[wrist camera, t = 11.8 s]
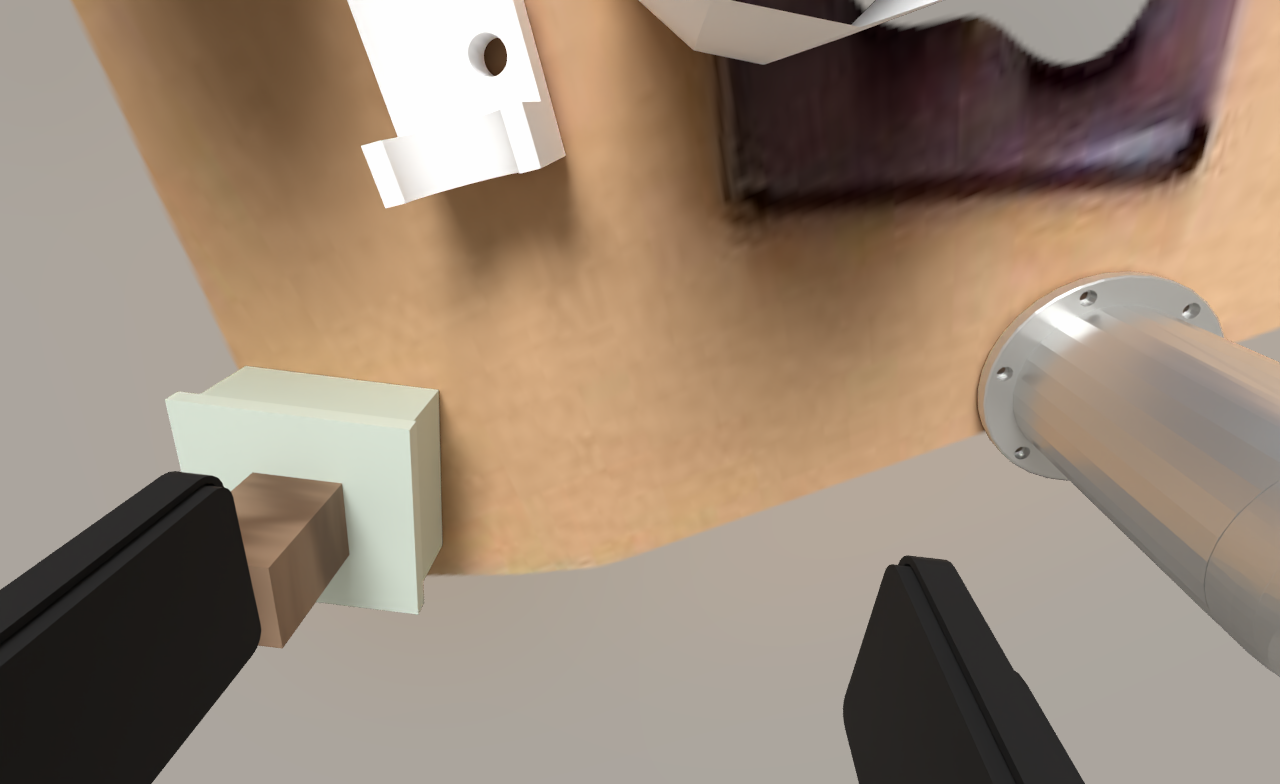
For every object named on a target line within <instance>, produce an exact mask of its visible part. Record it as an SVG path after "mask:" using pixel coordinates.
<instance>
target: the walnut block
mask: <svg viewBox="0 0 1280 784" xmlns="http://www.w3.org/2000/svg"><path fill="white" fill-rule="evenodd" d="M231 493H232V495H233V498H234V503H235V507H236V512H237V517H238V521H239V526H240V531H241V535H242V540H243V545H244V549H245V554H246V558H247V563H248V568H249V572H250V577H251V582H252V586H253V591H254V596H255V600H256V605H257V609H258V614H259V619H260V623H261V637H260V641H259V644H258V645H259V646H268V647H275V648H283V647H284V646H285V644H286V643H287V641H288V640H289V639H290V637H291V636H292V634H293V633H294V632H295V630H296V629H297V627H298V626H299V625H300V623H301V622H302V620H303V619H304V618H305V616H306V615H307V613H308V612H309V611H310V609H311V608H312V606H313V605H314V604H315V602H316V601H317V599H318V598H319V597H320V595H321V594H322V593H323V591H324V590H325V588H326V587H327V586H328V584H329V583H330V581H331V580H332V579H333V577H334V576H335V574H336V573H337V572H338V570H339V569H340V567H341V566H342V565H343V563H344V562H345V560H346V559H347V558H348V556H349V555H350V554H349V545H348V535H347V526H346V516H345V507H344V497H343V488H342V483H335V482H327V481H319V480H311V479H302V478H294V477H286V476H278V475H270V474H262V473H254V472H252V473H251V474H250V475H249V476H248V477H247V478H246V479H244V480H243V481H242V482H241V483H240V484H239V485H238V486H236V487H235V488H234V489H233V490H232V491H231Z"/></svg>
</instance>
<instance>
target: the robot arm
mask: <svg viewBox="0 0 1280 784" xmlns="http://www.w3.org/2000/svg"><path fill="white" fill-rule="evenodd" d="M999 369H1000V370H999ZM978 410H979V414H980V418H981V423H982V426H983V427H984V429H985V431H986V433H987V435H988V437H989V439H990V440H991V441H992V442H993V444H995V446H996V447H997V448H998V449H999V451H1000V452H1001V453H1002V454H1003V455H1004V456H1005V457H1006V458H1008V459H1009V460H1010V461H1011V462H1012V463H1014V464H1015V465H1017V466H1019V467H1021V468H1023V469H1025V470H1026V471H1028V472H1030V473H1033V474H1036V475H1039V476H1043V477H1046V478H1051V479H1059V480H1070V481H1071V482H1072V483H1073V484H1074V485H1075V486H1076V487H1077V488H1078V489H1079V490H1080V491H1081V492H1082V493H1083V494H1084V495H1085V496H1086V497H1087V498H1088V499H1089V500H1090V501H1091V502H1092V503H1093V504H1094V505H1096V506H1097V507H1098V508H1099V509H1100V510H1101V511H1102V512H1103V513H1104V514H1105V515H1106V516H1107V517H1108V518H1109V519H1110V520H1111V521H1112V522H1113V523H1114V524H1115V525H1116V526H1117V527H1118V528H1119V529H1120V530H1121V531H1122V532H1123V533H1124V534H1125V535H1127V537H1129V539H1130V540H1132V541H1133V542H1134V543H1135V544H1136V545H1137V546H1138V547H1139V548H1140V549H1141V550H1142V551H1143V552H1144V553H1145V554H1146V555H1147V556H1148V557H1149V558H1150V559H1151V560H1152V561H1153V562H1154V563H1155V564H1156V565H1157V566H1158V567H1159V568H1160V569H1161V570H1162V571H1163V572H1165V574H1167V575H1168V576H1169V577H1170V578H1171V579H1172V580H1173V581H1174V582H1175V583H1176V584H1177V585H1178V586H1179V587H1180V588H1181V589H1182V590H1183V591H1184V592H1185V593H1186V594H1187V595H1188V596H1189V597H1190V598H1191V599H1192V600H1193V601H1194V602H1195V603H1196V604H1197V605H1198V606H1199V607H1201V608H1202V609H1203V610H1204V611H1205V612H1206V613H1207V614H1208V615H1209V616H1210V617H1211V618H1212V619H1213V620H1214V621H1215V622H1216V623H1218V624H1219V625H1220V626H1221V627H1222V628H1223V629H1224V630H1225V631H1226V632H1227V633H1228V634H1229V635H1230V636H1231V637H1232V638H1233V639H1234V640H1235V641H1237V643H1238V644H1240V646H1242V647H1243V648H1244V649H1245V650H1246V651H1247V652H1248V653H1249V654H1250V655H1252V656H1253V657H1254V658H1255V659H1256V660H1257V661H1259V662H1260V663H1261V664H1262V665H1264V666H1265V667H1266V668H1267V669H1269V670H1270V671H1272V672H1273V673H1275V674H1276V675H1278V676H1279V677H1280V363H1279V362H1277V361H1275V360H1272V359H1270V358H1268V357H1266V356H1264V355H1261V354H1259V353H1257V352H1254V351H1252V350H1250V349H1247V348H1245V347H1243V346H1241V345H1238V344H1236V343H1234V342H1232V341H1229V340H1227V339H1225V338H1224V334H1223V331H1222V328H1221V325H1220V322H1219V319H1218V317H1217V316H1216V314H1215V313H1214V311H1213V310H1212V309H1211V307H1210V306H1209V304H1208V303H1207V302H1206V301H1205V300H1204V299H1203V298H1201V297H1200V296H1199V295H1198V294H1197V293H1195V292H1194V291H1193V290H1192V289H1189V288H1187V287H1185V286H1183V285H1181V284H1179V283H1177V282H1175V281H1172V280H1169V279H1166V278H1163V277H1160V276H1157V275H1154V274H1148V273H1140V272H1132V271H1125V272H1109V273H1103V274H1098V275H1094V276H1090V277H1085V278H1082V279H1079V280H1077V281H1074V282H1072V283H1069V284H1067V285H1064V286H1062V287H1059V288H1057V289H1056V290H1054V291H1052V292H1051V293H1049V294H1047V295H1045V296H1044V297H1042V298H1040V299H1039V300H1037V301H1036V302H1035V303H1033V304H1032V305H1031V306H1030V307H1028V308H1027V309H1026V310H1025V311H1023V312H1022V313H1021V314H1020V315H1018V316H1017V317H1016V319H1015V320H1014V321H1013V322H1012V323H1011V324H1010V325H1009V326H1008V327H1007V328H1006V330H1005V331H1004V332H1003V333H1002V334H1001V336H1000V337H999V339H998V340H997V342H996V343H995V345H994V346H993V348H992V349H991V351H990V353H989V355H988V358H987V360H986V362H985V365H984V367H983V369H982V372H981V377H980V382H979V387H978ZM260 637H261V623H260V619H259V614H258V609H257V605H256V600H255V596H254V591H253V586H252V582H251V577H250V572H249V568H248V563H247V558H246V554H245V549H244V545H243V540H242V535H241V531H240V526H239V521H238V517H237V512H236V507H235V503H234V498H233V495H232V493H231V491H230V490H229V489H228V488H225V487H224V486H223V483H222V482H221V480H220V479H219V478H218V477H215V476H212V475H203V474H195V473H186V472H176V471H174V472H168V473H166V474H164V475H162V476H160V477H159V478H158V479H156V480H155V481H154V482H152V483H150V484H149V485H148V486H146V487H145V488H144V489H142V490H141V491H139V492H138V493H137V494H135V495H134V496H132V497H131V498H129V499H128V500H127V501H125V502H124V503H122V504H121V505H120V506H118V507H117V508H115V509H114V510H112V511H111V512H110V513H108V514H107V515H105V516H104V517H103V518H101V519H100V520H98V521H97V522H96V523H94V524H93V525H91V526H90V527H89V528H87V529H86V530H84V531H83V532H81V533H80V534H79V535H77V536H76V537H75V538H73V539H72V540H70V541H69V542H67V543H66V544H64V545H63V546H62V547H60V548H59V549H57V550H56V551H55V552H53V553H52V554H50V555H49V556H48V557H46V558H45V559H43V560H42V561H41V562H39V563H38V564H37V565H35V566H34V567H32V568H31V569H29V570H28V571H27V572H25V573H24V574H22V575H21V576H20V577H18V578H17V579H15V580H14V581H12V582H11V583H10V584H8V585H7V586H5V587H4V588H2V589H1V590H0V784H151V783H152V782H153V781H154V780H155V778H156V777H157V776H158V774H159V773H160V772H161V771H162V769H163V768H164V767H165V766H166V764H167V763H168V762H169V760H170V759H171V758H172V757H173V755H174V754H175V753H176V752H177V750H178V749H179V748H180V746H181V745H182V744H183V743H184V741H185V740H186V739H187V738H188V736H189V735H190V734H191V733H192V731H193V730H194V729H195V727H196V726H197V725H198V724H199V722H200V721H201V720H202V719H203V717H204V716H205V715H206V713H207V712H208V711H209V710H210V708H211V707H212V706H213V705H214V703H215V702H216V701H217V700H218V698H219V697H220V696H221V694H222V693H223V692H224V691H225V689H226V688H227V687H228V686H229V684H230V683H231V682H232V680H233V679H234V678H235V677H236V675H237V674H238V673H239V672H240V670H241V669H242V668H243V666H244V665H245V664H246V663H247V661H248V660H249V659H250V658H251V656H252V655H253V653H254V652H255V650H256V648H257V646H258V644H259V641H260ZM843 717H844V725H845V730H846V734H847V738H848V741H849V746H850V749H851V753H852V757H853V761H854V765H855V769H856V773H857V777H858V781H859V784H1085V783H1084V781H1083V780H1082V778H1081V776H1080V775H1079V773H1078V771H1077V769H1076V768H1075V766H1074V764H1073V763H1072V761H1071V759H1070V758H1069V756H1068V754H1067V752H1066V751H1065V749H1064V747H1063V745H1062V744H1061V742H1060V740H1059V739H1058V737H1057V735H1056V733H1055V732H1054V730H1053V728H1052V727H1051V725H1050V723H1049V721H1048V720H1047V718H1046V716H1045V715H1044V713H1043V711H1042V709H1041V708H1040V706H1039V704H1038V703H1037V701H1036V699H1035V697H1034V696H1033V694H1032V692H1031V691H1030V689H1029V687H1028V685H1027V684H1026V683H1025V681H1024V680H1023V679H1022V677H1021V676H1020V675H1019V674H1018V673H1017V672H1016V671H1014V670H1013V668H1012V666H1011V664H1010V663H1009V661H1008V659H1007V658H1006V656H1005V654H1004V652H1003V650H1002V649H1001V647H1000V645H999V644H998V642H997V640H996V638H995V637H994V635H993V633H992V631H991V630H990V628H989V626H988V624H987V623H986V621H985V620H984V617H983V616H982V614H981V612H980V611H979V609H978V607H977V605H976V604H975V602H974V600H973V599H972V597H971V595H970V593H969V591H968V590H967V588H966V587H965V584H964V583H963V581H962V579H961V578H960V576H959V574H958V572H957V571H956V569H955V567H954V566H953V565H952V563H951V562H949V561H947V560H942V559H933V558H924V557H916V556H904V557H903V558H902V559H901V560H900V562H899V564H898V565H889V566H888V567H887V569H886V571H885V573H884V576H883V579H882V582H881V585H880V589H879V592H878V595H877V598H876V601H875V604H874V607H873V610H872V614H871V617H870V620H869V623H868V626H867V629H866V632H865V635H864V639H863V642H862V645H861V648H860V651H859V654H858V657H857V661H856V664H855V667H854V670H853V673H852V676H851V679H850V683H849V685H848V689H847V692H846V695H845V699H844V705H843Z"/></svg>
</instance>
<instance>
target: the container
mask: <svg viewBox="0 0 1280 784" xmlns="http://www.w3.org/2000/svg"><path fill="white" fill-rule="evenodd" d="M639 1H640V2H641V3H642V4H643V5H644V6H645V7H646V8H647V9H648V10H650V11H651V12H652V13H653V14H654V15H655V16H656V17H657V18H658V19H659V20H661V21H662V22H663V23H664V24H665V25H666V26H667V27H668V28H669V29H670V30H672V31H673V32H674V33H675V34H676V35H677V36H678V37H679V38H680V39H681V40H683V41H684V42H685V43H686V44H687V45H688V46H689V47H690V48H691V49H693V50H694V51H699V52H704V53H708V54H713V55H718V56H723V57H728V58H733V59H738V60H743V61H748V62H752V63H757V64H762V65H765V64H768V63H771V62H774V61H776V60H779V59H782V58H785V57H788V56H791V55H794V54H797V53H800V52H803V51H806V50H809V49H812V48H814V47H817V46H820V45H823V44H826V43H829V42H832V41H835V40H838V39H840V38H843V37H846V36H849V35H851V34H854V33H857V32H859V31H862V30H865V29H868V28H870V27H873V26H876V25H878V24H881V23H884V22H887V21H889V20H892V19H895V18H897V17H900V16H903V15H906V14H908V13H911V12H914V11H916V10H919V9H922V8H925V7H927V6H930V5H932V4H935V3H938V2H941V1H944V0H875V1H874V2H873V3H872V4H871V5H870V6H869V7H868V8H867V10H866V11H865V12H864V13H863V14H862V15H861V16H860V17H859V18H858V19H857V20H856V21H855V22H854V23H853V24H852V25H848V24H844V23H839V22H834V21H829V20H824V19H819V18H815V17H810V16H805V15H800V14H795V13H790V12H786V11H781V10H776V9H771V8H766V7H762V6H757V5H752V4H747V3H742V2H737V1H733V0H639Z"/></svg>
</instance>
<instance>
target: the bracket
mask: <svg viewBox="0 0 1280 784" xmlns="http://www.w3.org/2000/svg"><path fill="white" fill-rule="evenodd" d="M347 1H348V4H349V6H350V9H351V12H352V14H353V17H354V20H355V22H356V25H357V28H358V31H359V33H360V36H361V39H362V41H363V44H364V47H365V49H366V52H367V55H368V58H369V60H370V63H371V66H372V68H373V71H374V74H375V77H376V79H377V82H378V85H379V87H380V90H381V93H382V95H383V98H384V101H385V104H386V106H387V109H388V112H389V114H390V117H391V120H392V123H393V125H394V128H395V131H396V133H397V136H398V137H396V138H391V139H386V140H380V141H377V142H373V143H369V144H366V145H362V146H361V147H362V150H363V152H364V155H365V158H366V160H367V163H368V165H369V168H370V170H371V173H372V175H373V178H374V180H375V183H376V185H377V188H378V191H379V193H380V196H381V198H382V201H383V203H384V206H385V208H389V207H393V206H397V205H401V204H405V203H408V202H410V201H413V200H416V199H420V198H423V197H426V196H429V195H433V194H436V193H439V192H443V191H446V190H450V189H453V188H457V187H461V186H464V185H468V184H472V183H476V182H479V181H483V180H487V179H491V178H495V177H500V176H504V175H509V174H514V173H520V174H521V173H525V172H529V171H533V170H537V169H540V168H543V167H545V166H547V165H549V164H551V163H553V162H554V161H556V160H558V159H560V158H562V157H564V156H566V154H565V151H564V147H563V143H562V140H561V136H560V132H559V129H558V125H557V121H556V117H555V114H554V110H553V106H552V103H551V99H550V95H549V92H548V88H547V84H546V81H545V77H544V73H543V70H542V66H541V62H540V59H539V55H538V51H537V48H536V44H535V40H534V37H533V33H532V29H531V26H530V22H529V18H528V15H527V11H526V7H525V4H524V0H347ZM495 38H500V39H501V41H502V42H503V43H504V45H505V48H506V51H507V63H506V66H505V68H504V70H503V71H502V72H501V73H500V74H499V75H497V76H493V75H492V74H491V73H490V72H489V71H488V69H487V67H486V65H485V62H484V51H485V48H486V46H487V45H488V43H489V42H490V41H492V40H493V39H495Z"/></svg>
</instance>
